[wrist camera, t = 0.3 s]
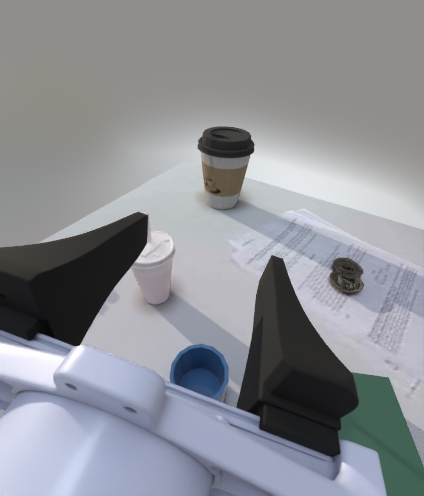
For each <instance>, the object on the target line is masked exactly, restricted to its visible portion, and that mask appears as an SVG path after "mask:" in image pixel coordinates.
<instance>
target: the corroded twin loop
mask: <svg viewBox="0 0 424 496" xmlns="http://www.w3.org/2000/svg"><path fill="white" fill-rule="evenodd" d="M333 265H334V269H335V271H334V272H332V273H331V274H330V278H331V281H332V282H333V284H334V285H335V286H336V287H337V288H338V289H339V290H341V291H342V292H344V293H351V292H356V291H359V290H361V289H362V288H363V287H364V284H363V282H362V281H361V280H360V279H359V278H358V277H357V276H359V275H362V274H363V269H362V268H361V267H360V266H359V265H358V264H357V263H356V262H354V261H353V260H351V259H349V258H338V259H336V260H334V261H333ZM342 265H343V267H344V268H345V269H344V268H342ZM350 268H352V269H353V270H354V271H350V270H347V269H350ZM341 277H342V278H345V279H350V280H352V281H353V282H354V284H353V286H352V282H351V281H348V280H344V279H343V280H342V283H341V282H340V278H341Z"/></svg>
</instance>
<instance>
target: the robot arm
mask: <svg viewBox="0 0 424 496" xmlns="http://www.w3.org/2000/svg"><path fill="white" fill-rule="evenodd" d="M147 238H148V215H146V214H143V213H140V212H137V213H134V214H132V215H129V216H127V217H125V218H123V219H120V220H118V221H116V222H113V223H111V224H108V225H106V226H103V227H101V228H98V229H95V230H93V231H90V232H87V233H84V234H80V235H77V236H73V237H69V238H65V239H60V240H56V241H51V242H46V243H39V244H32V245H25V246H15V247H2V248H0V408H1V409H3V410H5V411H4V412H3V413H2V414H1V416H0V496H387V494H386V489H385V484H384V479H383V475H382V470H381V465H380V460H379V455H378V453H377V452H376V451H375V450H372V449H370V448H367V447H364V446H362V445H359V444H356V443H354V442H351V441H348V440H339V437H338V430H341V420H340V418H342V417H343V416H345V415H347V414H349V413H350V412H352V411H353V410H355V409H356V408H357V407H358V404H359V399H358V393H357V388H356V384H355V380H354V377H353V374H352V373H351V372H350V371H349V370H348V369H347V368H346V367H345V366H344V364H343V363H342V362H341V361H340V360H339V359H338V358H337V357H336V356H335V354H334V353H333V352H332V351H331V350H330V348H329V347H328V346H327V345H326V343H325V342H324V341H323V339H322V338H321V337H320V335H319V334H318V332H317V331H316V330H315V328H314V327H313V325H312V324H311V322H310V321H309V319H308V317H307V315H306V314H305V312H304V310H303V308H302V306H301V304H300V302H299V300H298V298H297V296H296V294H295V291H294V289H293V286H292V284H291V281H290V279H289V276H288V273H287V270H286V267H285V264H284V261H283V259H282V258H279V257H276V256H273V255H272V256H271V258H270V260H269V262H268V264H267V266H266V268H265V270H264V272H263V274H262V276H261V279H260V281H259V285H258V290H257V294H256V302H255V312H254V323H253V333H252V340H251V345H250V350H249V355H248V359H247V364H246V369H245V373H244V378H243V382H242V387H241V391H240V395H239V399H238V403H237V407H233V406H230V405H228V404H225V403H222V402H220V401H217V400H215V399H212V398H209V397H207V396H204V395H201V394H199V393H196V392H194V391H191V390H188V389H186V388H183V387H180V386H178V385H175V384H172V383H170V382H167V381H165V380H163V378H162V377H161V376H160V375H158V374H157V373H156V372H155V371H153V370H151V369H149V368H147V367H145V366H142V365H139V364H137V363H134V362H131V361H129V360H126V359H124V358H121V357H118V356H116V355H113V354H110V353H108V352H105V351H102V350H100V349H97V348H94V347H91V346H87V345H80V344H81V342H82V340H83V338H84V336H85V335H86V333H87V331H88V329H89V327H90V326H91V324H92V322H93V320H94V319H95V317H96V315H97V314H98V312H99V310H100V309H101V307H102V306H103V304H104V302H105V301H106V299H107V298H108V296H109V295H110V293H111V291H112V290H113V289H114V287H115V286H116V285H117V283H118V282H119V281H120V280H121V278H122V277H123V276H124V275H125V273H126V272H127V271H128V270H129V269H130V267H131V266H132V265H133V264H134V262H135V261H136V260H137V259H138V257H139V256H140V254H141V253H142V251H143V249H144V248H145V246H146V244H147Z"/></svg>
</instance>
